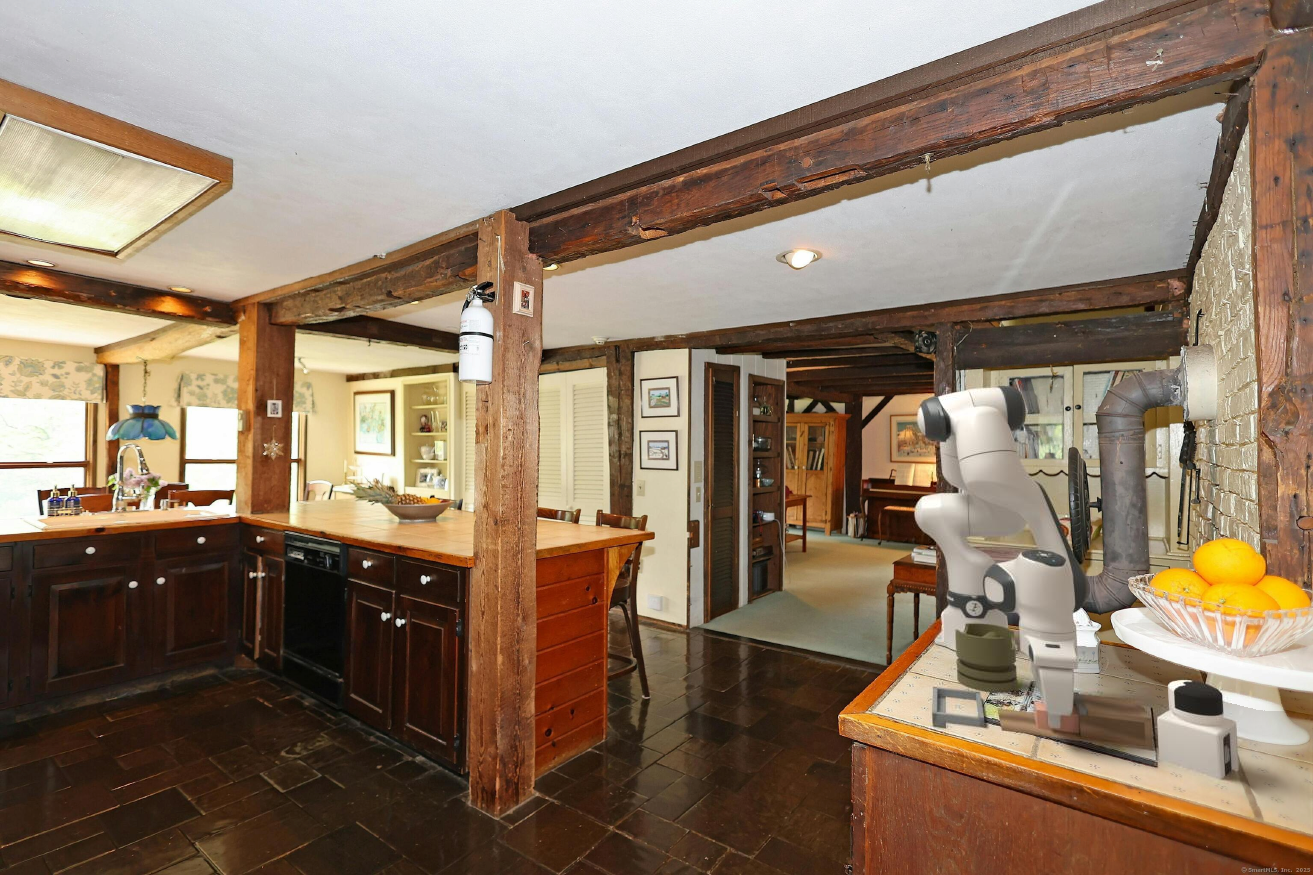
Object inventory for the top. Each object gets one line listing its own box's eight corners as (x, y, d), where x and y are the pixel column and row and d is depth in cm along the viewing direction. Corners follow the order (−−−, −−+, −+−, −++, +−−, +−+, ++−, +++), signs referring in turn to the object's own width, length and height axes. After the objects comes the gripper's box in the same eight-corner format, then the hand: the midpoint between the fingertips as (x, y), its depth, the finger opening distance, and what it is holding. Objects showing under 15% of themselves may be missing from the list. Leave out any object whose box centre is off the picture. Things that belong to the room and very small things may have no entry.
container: (1239, 770, 98) (1235, 686, 98) (1221, 786, 94) (1216, 698, 94) (1178, 751, 104) (1174, 672, 104) (1158, 765, 100) (1154, 682, 100)
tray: (933, 698, 129) (933, 686, 129) (980, 703, 125) (980, 691, 126) (932, 725, 117) (932, 712, 117) (984, 732, 113) (984, 719, 113)
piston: (946, 631, 134) (966, 620, 142) (949, 687, 134) (969, 673, 142) (1004, 641, 126) (1022, 629, 134) (1007, 701, 126) (1024, 685, 134)
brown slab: (997, 713, 121) (996, 681, 121) (1137, 730, 112) (1136, 696, 112) (1002, 735, 112) (1000, 701, 112) (1155, 756, 103) (1153, 719, 103)
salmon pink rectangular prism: (1034, 718, 116) (1033, 701, 116) (1099, 726, 112) (1098, 708, 112) (1037, 727, 112) (1036, 709, 112) (1105, 736, 108) (1104, 717, 108)
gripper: (1020, 625, 124) (1024, 696, 124) (1035, 658, 105) (1039, 741, 105) (1058, 628, 121) (1062, 700, 121) (1079, 662, 103) (1084, 747, 103)
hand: (1051, 720), depth 113 cm, fingers closed on salmon pink rectangular prism, 4 cm apart
